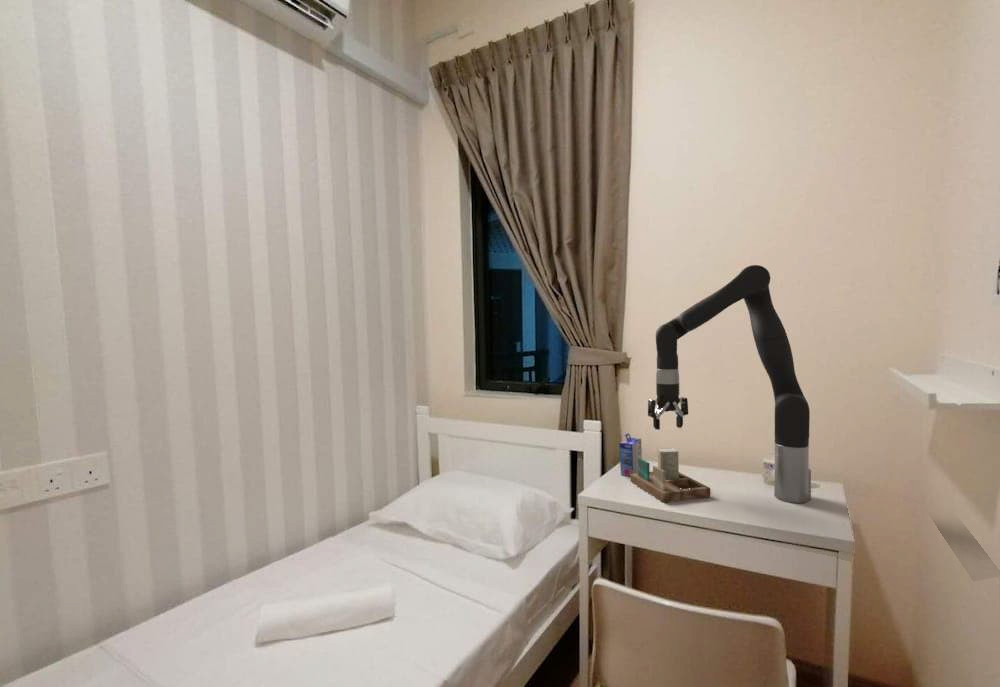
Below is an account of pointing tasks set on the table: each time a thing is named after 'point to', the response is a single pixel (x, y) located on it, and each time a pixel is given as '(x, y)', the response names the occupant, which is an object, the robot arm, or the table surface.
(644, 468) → the socket block
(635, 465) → the ink cartridge box
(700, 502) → the table surface
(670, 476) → the skincare box
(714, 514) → the table surface
